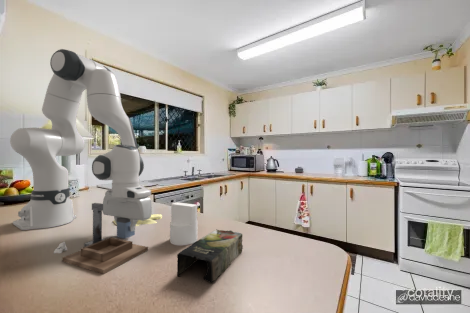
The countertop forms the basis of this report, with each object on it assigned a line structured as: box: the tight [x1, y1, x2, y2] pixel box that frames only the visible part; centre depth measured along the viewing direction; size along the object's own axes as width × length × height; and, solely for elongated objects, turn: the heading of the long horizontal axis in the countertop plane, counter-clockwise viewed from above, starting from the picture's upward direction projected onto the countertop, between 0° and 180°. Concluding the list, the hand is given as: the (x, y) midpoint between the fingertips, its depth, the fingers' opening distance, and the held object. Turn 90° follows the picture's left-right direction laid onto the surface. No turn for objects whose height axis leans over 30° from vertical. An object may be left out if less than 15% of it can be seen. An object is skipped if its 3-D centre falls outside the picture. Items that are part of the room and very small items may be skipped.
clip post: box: [83, 202, 106, 247], centre depth 68 cm, size 5×5×13 cm
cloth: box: [112, 213, 163, 227], centre depth 94 cm, size 22×19×6 cm
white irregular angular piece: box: [53, 240, 68, 254], centre depth 63 cm, size 3×3×3 cm
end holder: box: [61, 236, 149, 275], centre depth 61 cm, size 16×14×3 cm
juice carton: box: [176, 229, 244, 283], centre depth 58 cm, size 20×10×6 cm, turn 157°
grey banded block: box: [116, 217, 136, 240], centre depth 76 cm, size 4×4×6 cm
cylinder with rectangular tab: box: [169, 201, 199, 246], centre depth 72 cm, size 9×9×12 cm
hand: (125, 229), depth 76 cm, fingers closed on grey banded block, 4 cm apart
